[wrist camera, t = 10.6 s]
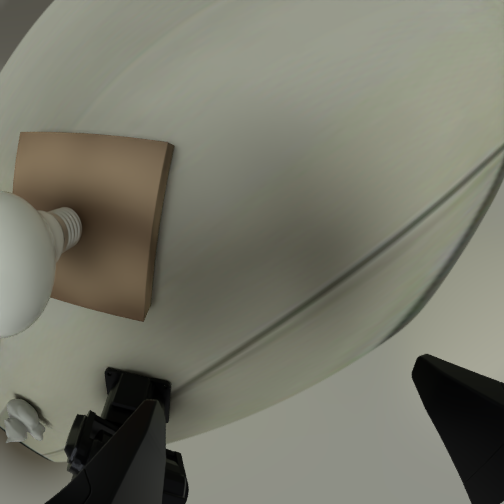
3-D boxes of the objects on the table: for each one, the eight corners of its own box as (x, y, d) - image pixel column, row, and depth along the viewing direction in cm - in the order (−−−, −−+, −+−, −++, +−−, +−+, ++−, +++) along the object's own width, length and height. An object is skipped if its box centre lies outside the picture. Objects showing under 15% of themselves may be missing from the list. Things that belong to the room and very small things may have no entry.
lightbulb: (24, 221, 14) (-85, 275, 4) (72, 157, 14) (-62, 165, 3) (74, 287, 16) (-14, 386, 6) (129, 230, 16) (24, 320, 5)
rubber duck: (18, 387, 22) (-6, 426, 14) (55, 419, 24) (37, 462, 16) (10, 397, 22) (-11, 433, 15) (44, 427, 24) (27, 465, 17)
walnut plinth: (150, 305, 20) (143, 321, 18) (30, 274, 18) (15, 285, 16) (174, 145, 17) (167, 142, 15) (38, 133, 15) (20, 132, 12)
